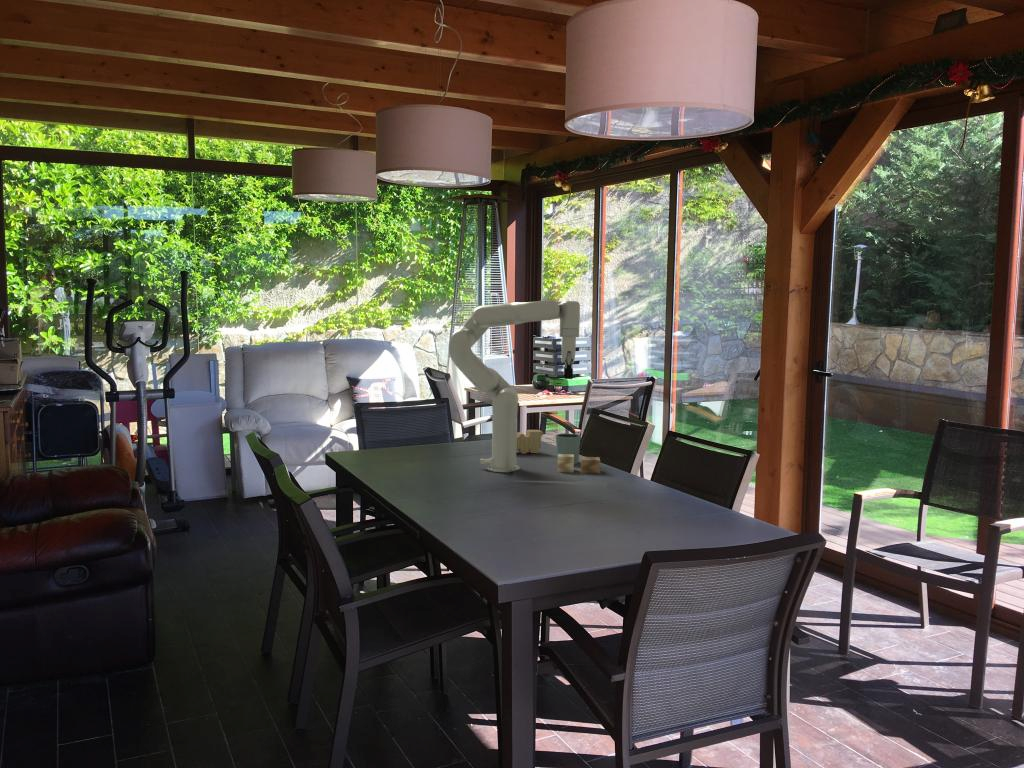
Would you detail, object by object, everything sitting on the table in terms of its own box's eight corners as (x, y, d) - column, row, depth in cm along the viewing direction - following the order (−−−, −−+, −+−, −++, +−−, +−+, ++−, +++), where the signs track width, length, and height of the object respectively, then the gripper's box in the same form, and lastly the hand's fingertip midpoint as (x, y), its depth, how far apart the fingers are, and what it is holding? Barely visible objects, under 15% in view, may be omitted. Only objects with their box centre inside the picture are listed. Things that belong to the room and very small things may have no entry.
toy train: (502, 452, 382) (502, 429, 381) (539, 451, 386) (540, 429, 385) (505, 454, 376) (505, 431, 375) (543, 454, 381) (543, 431, 380)
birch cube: (557, 472, 335) (558, 456, 334) (557, 469, 341) (558, 453, 340) (573, 472, 334) (574, 457, 334) (573, 469, 340) (573, 454, 340)
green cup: (584, 465, 355) (585, 436, 354) (565, 467, 349) (565, 437, 348) (569, 461, 363) (570, 432, 362) (549, 463, 358) (550, 434, 357)
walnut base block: (581, 472, 334) (581, 459, 333) (580, 469, 341) (581, 456, 340) (599, 473, 333) (600, 460, 333) (598, 470, 340) (599, 457, 340)
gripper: (559, 332, 344) (558, 376, 345) (559, 333, 326) (558, 379, 328) (578, 333, 343) (577, 376, 345) (579, 334, 326) (578, 380, 328)
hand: (568, 377), depth 336 cm, fingers open, 9 cm apart
